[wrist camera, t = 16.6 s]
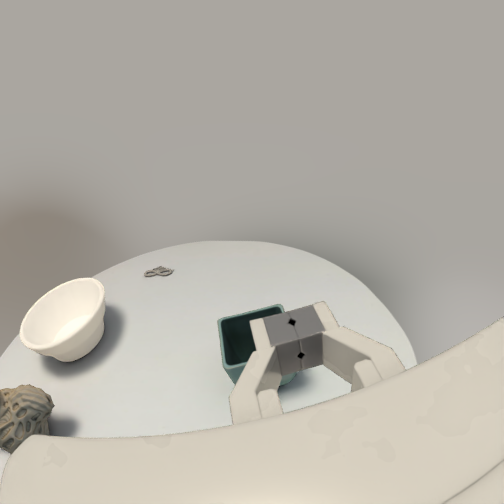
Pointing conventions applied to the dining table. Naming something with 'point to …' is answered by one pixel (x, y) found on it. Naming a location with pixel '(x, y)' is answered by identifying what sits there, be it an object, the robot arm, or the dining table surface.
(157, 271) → the charm
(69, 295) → the bowl
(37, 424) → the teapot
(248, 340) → the flower pot
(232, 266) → the dining table surface
